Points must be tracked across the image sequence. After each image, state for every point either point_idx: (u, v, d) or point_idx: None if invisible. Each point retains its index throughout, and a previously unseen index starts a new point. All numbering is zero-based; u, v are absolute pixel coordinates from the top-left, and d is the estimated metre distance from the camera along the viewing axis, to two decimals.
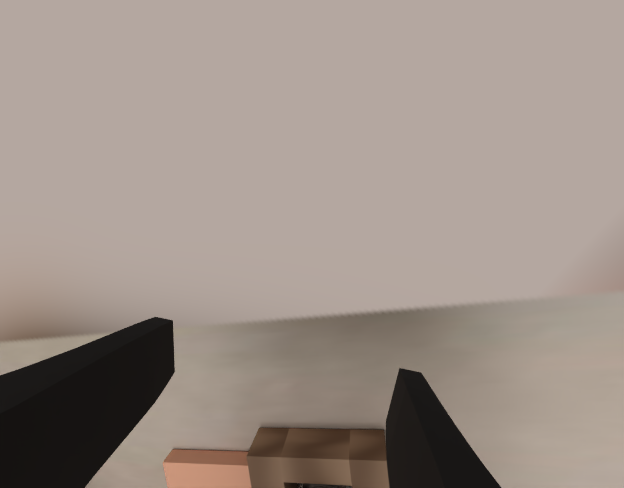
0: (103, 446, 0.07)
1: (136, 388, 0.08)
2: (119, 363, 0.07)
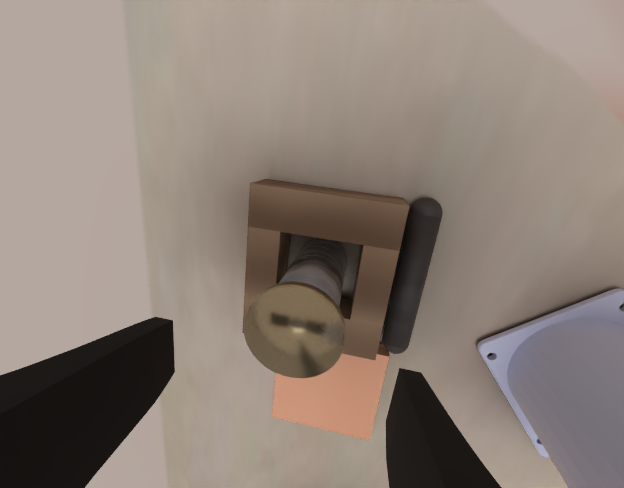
0: (103, 446, 0.07)
1: (136, 388, 0.08)
2: (119, 363, 0.07)
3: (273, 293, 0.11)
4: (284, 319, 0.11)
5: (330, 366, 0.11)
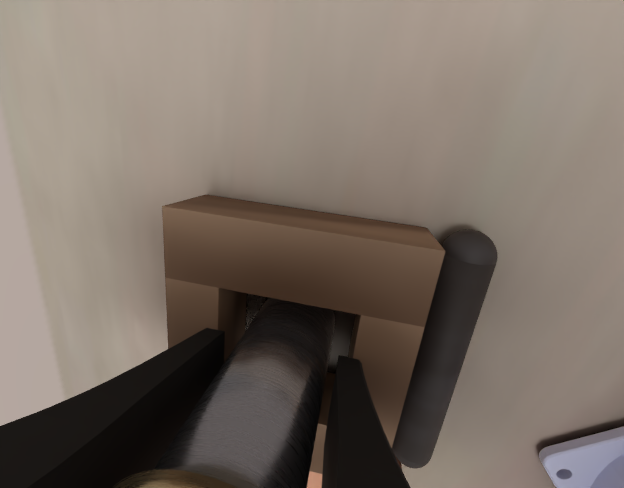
0: None
1: (194, 403, 0.08)
2: (183, 378, 0.07)
3: None
4: None
5: None
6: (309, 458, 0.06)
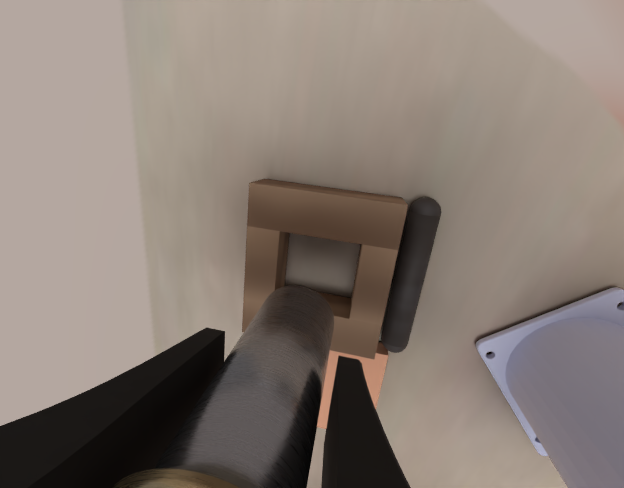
0: None
1: (194, 402, 0.08)
2: (183, 378, 0.07)
3: None
4: None
5: None
6: (309, 457, 0.06)
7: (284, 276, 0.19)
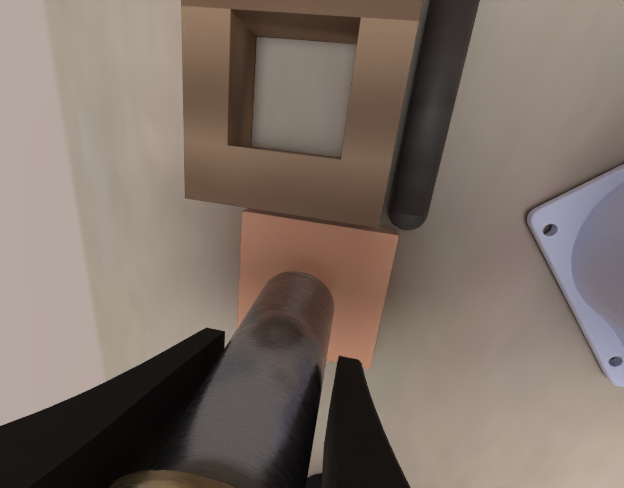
0: None
1: None
2: (183, 378, 0.07)
3: None
4: None
5: None
6: (309, 448, 0.06)
7: (249, 128, 0.13)
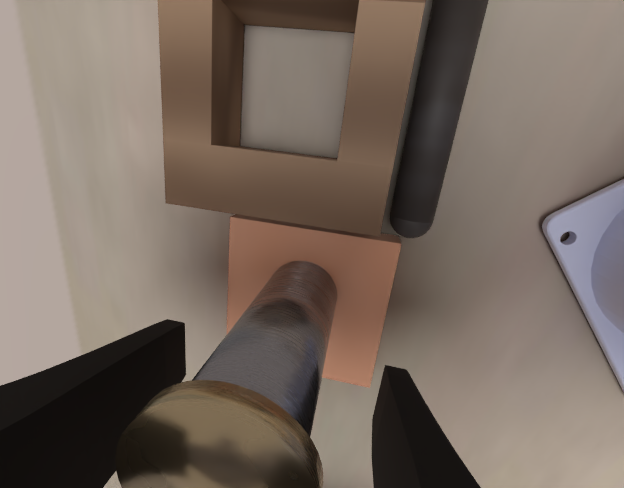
0: None
1: (149, 391, 0.08)
2: (134, 366, 0.07)
3: (164, 414, 0.05)
4: (192, 463, 0.05)
5: None
6: (315, 393, 0.07)
7: (238, 126, 0.12)
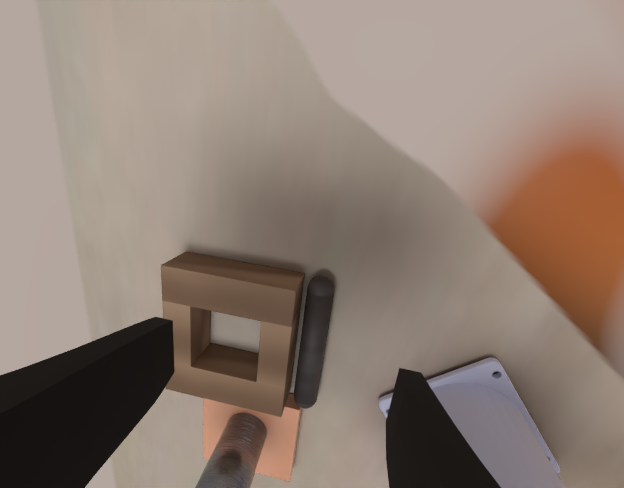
0: (103, 446, 0.07)
1: (136, 388, 0.08)
2: (119, 363, 0.07)
3: None
4: None
5: None
6: None
7: (208, 335, 0.21)
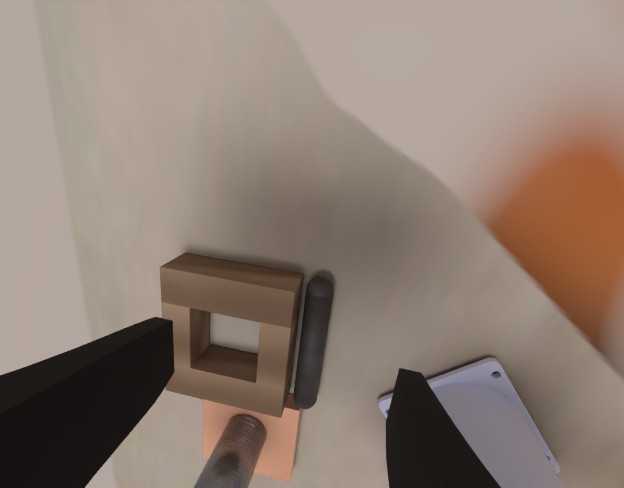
0: (103, 446, 0.07)
1: (136, 388, 0.08)
2: (119, 363, 0.07)
3: None
4: None
5: None
6: None
7: (208, 337, 0.21)
